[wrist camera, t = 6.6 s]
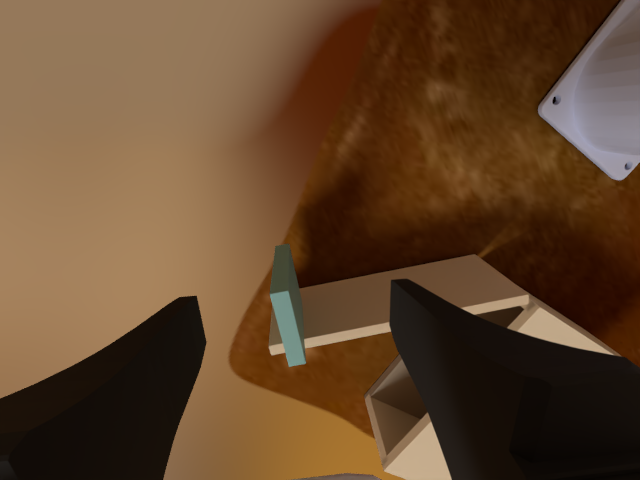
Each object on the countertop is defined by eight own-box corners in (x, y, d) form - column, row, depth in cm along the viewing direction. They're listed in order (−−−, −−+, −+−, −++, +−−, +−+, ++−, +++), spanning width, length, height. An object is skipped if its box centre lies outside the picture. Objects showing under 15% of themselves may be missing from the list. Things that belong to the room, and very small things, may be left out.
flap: (475, 197, 21) (562, 236, 14) (474, 261, 22) (553, 324, 16) (259, 239, 21) (244, 299, 14) (275, 301, 22) (269, 380, 16)
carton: (478, 260, 23) (540, 307, 17) (586, 330, 26) (667, 389, 20) (363, 395, 26) (383, 470, 21) (470, 442, 29) (512, 519, 24)
